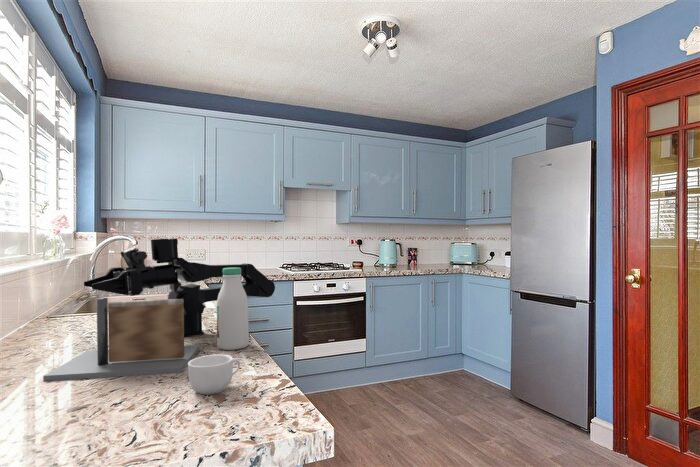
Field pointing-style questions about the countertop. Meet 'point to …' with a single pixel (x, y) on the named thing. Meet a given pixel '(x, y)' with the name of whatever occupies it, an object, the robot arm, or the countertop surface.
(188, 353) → the board
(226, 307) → the milk bottle
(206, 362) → the teacup
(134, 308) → the panel
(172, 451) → the countertop surface
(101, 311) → the hinge post
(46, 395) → the countertop surface
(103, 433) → the countertop surface
